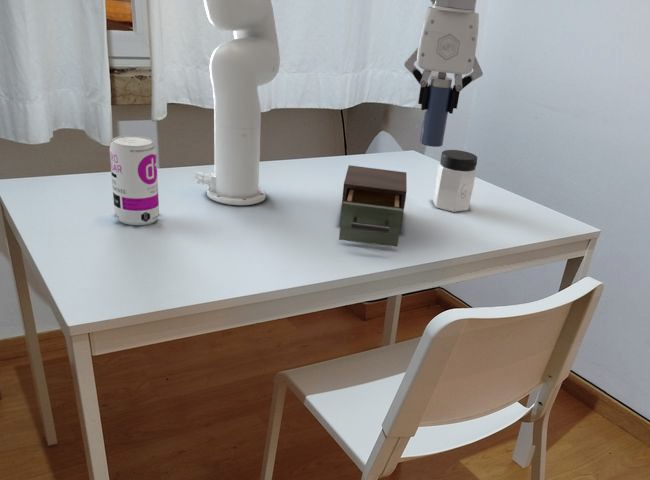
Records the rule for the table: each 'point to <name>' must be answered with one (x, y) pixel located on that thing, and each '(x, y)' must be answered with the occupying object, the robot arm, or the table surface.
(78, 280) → the table surface
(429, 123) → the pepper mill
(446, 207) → the jar
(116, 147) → the supplement can
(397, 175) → the cabinet
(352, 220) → the drawer
